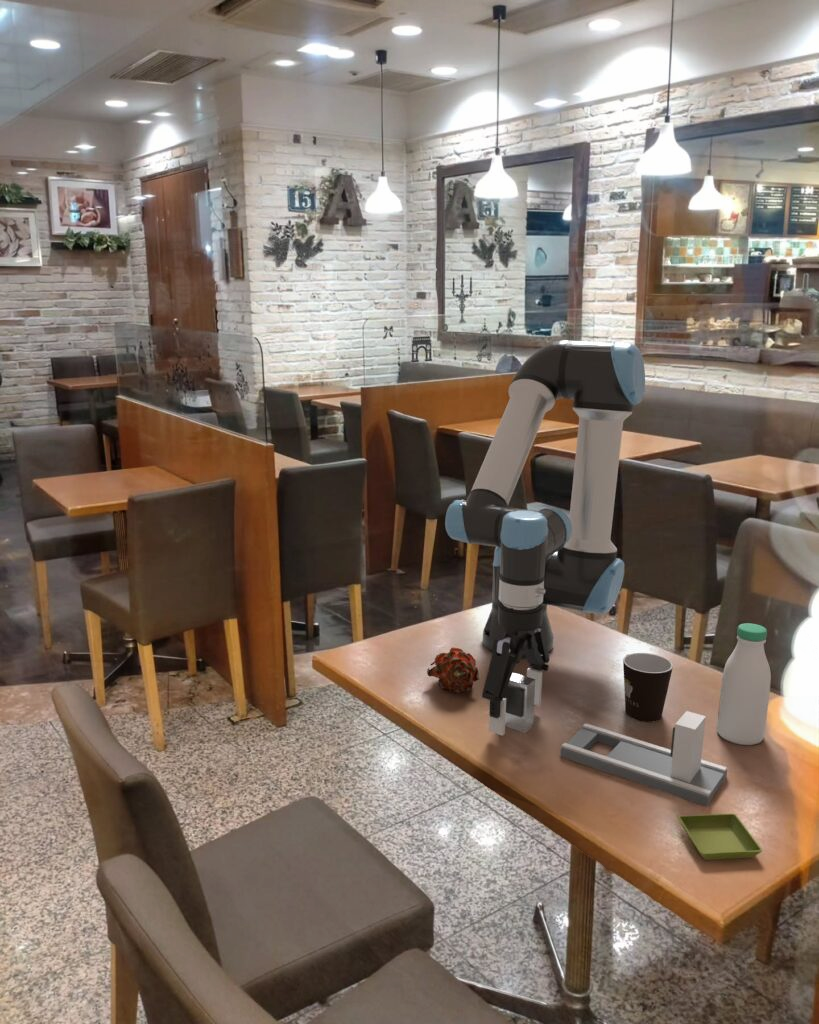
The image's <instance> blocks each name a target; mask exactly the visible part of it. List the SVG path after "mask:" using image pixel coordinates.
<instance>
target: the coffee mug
mask: <svg viewBox="0 0 819 1024" xmlns="http://www.w3.org/2000/svg"><path fill="white" fill-rule="evenodd" d="M622 663H623V664H622V665H623V687H624V708H625V715H627V716H628V717H629V718H630V719H632V720H635V721H638V722H642V723H653V721H655V722H657V720H658V721H660V720H661V718H662V716H663V712H664V708H665V703H666V700H667V695H668V689H669V686H670V680H671V677H672V673H673V669H674V668H673V667H674V665H673V663H672V661H671V660H670V659H668V658H666V657H664V656H662V655H658V654H656V653H647V652H634V653H630V654H626V655H625V656H624V657H623V659H622Z"/></svg>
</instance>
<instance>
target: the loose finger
mask: <svg viewBox="0 0 819 1024" xmlns="http://www.w3.org/2000/svg"><path fill="white" fill-rule="evenodd" d="M534 697H535V679H533V678H530V677H527V675H526V676H525V675H522V674H520V673H516V672H513V673H512V675H511V678H510V681H509V684H508V687H507V689H506V692H505V695H504V698H505V699H506V717H505V728H508V729H511V730H515V731H517V732H521V733H523V734H526V733H527V732H528V731H529V730H530V729H532V728H533V726H534V714H535V713H534V711H535V705H534Z"/></svg>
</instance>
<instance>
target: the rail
mask: <svg viewBox="0 0 819 1024" xmlns="http://www.w3.org/2000/svg"><path fill="white" fill-rule="evenodd" d="M706 717H707V716H706V715H702V714H699V713H697V712H696V713H695V712H693V711H692V712H691V711H689V710H686V711H685V712H684V713H683V715H681V717H680V718H679V719H678V720H677V722H675V725H674V726H672V733H671V734H672V737H671V747H670V749H669V748H666V747H664V746H663V747H662V746H660V745H656V744H654V743H650V742H647V741H644V740H642V739H641V740H640V739H639V738H638V739H637V738H635V737H631V736H628V735H625V734H621V733H618V732H615V731H611V730H608V729H606V728H602V727H599V726H595V725H592V724H589V723H585V722H584V724H583V725H582V728H580V730H579V731H577V732H576V733H575V734H574V735H573V736H571V738H570V739H569V740H568V741H566V742H563V743H562V744H561V748H560V754H559V757H561V758H563V759H567V760H570V761H571V762H572V761H573V762H576V763H579V764H581V765H584V766H587V767H590V768H593V769H596V770H598V771H602V772H604V773H608V774H611V775H614V776H617V777H620V778H622V779H625V780H628V781H630V782H634V783H636V784H640V785H642V786H645V787H648V788H651V789H655V790H658V791H661V792H663V793H666V794H669V795H673V796H675V797H678V798H681V799H683V800H687V801H689V802H692V803H695V804H698V805H701V806H704V807H708V805H709V804H710V802H711V801H712V800H713V798H714V796H715V795H716V794H717V792H718V791H719V789H720V787H721V786H722V784H723V783H724V781H725V780H726V779H727V775H728V768H727V766H725V765H724V766H723V765H720V764H717V763H715V762H710V761H707V760H705V759H702V758H703V756H702V755H703V747H704V736H705V728H706V727H705V726H706V721H707V720H706V719H707V718H706ZM597 742H598V743H601V744H602V745H603V744H604V745H606V746H609V747H614V748H613V749H612V750H611V751H610V752H609V753H608V754H607V755H602V754H600V753H597V752H594V751H591V748H592V747H593V746H594V745H595V744H596V743H597Z"/></svg>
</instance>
